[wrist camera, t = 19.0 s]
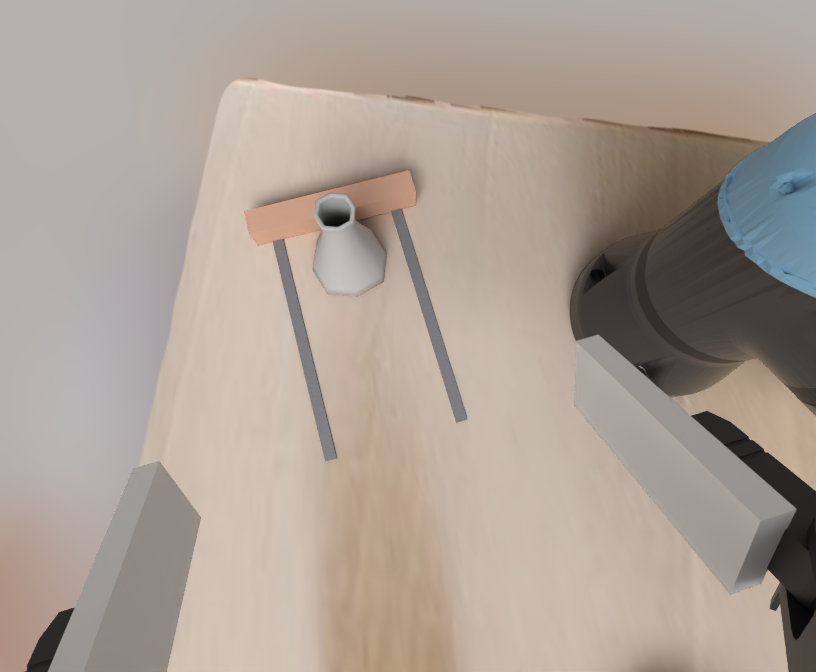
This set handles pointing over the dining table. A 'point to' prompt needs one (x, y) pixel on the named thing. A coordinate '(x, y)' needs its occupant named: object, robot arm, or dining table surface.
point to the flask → (345, 249)
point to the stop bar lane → (299, 219)
